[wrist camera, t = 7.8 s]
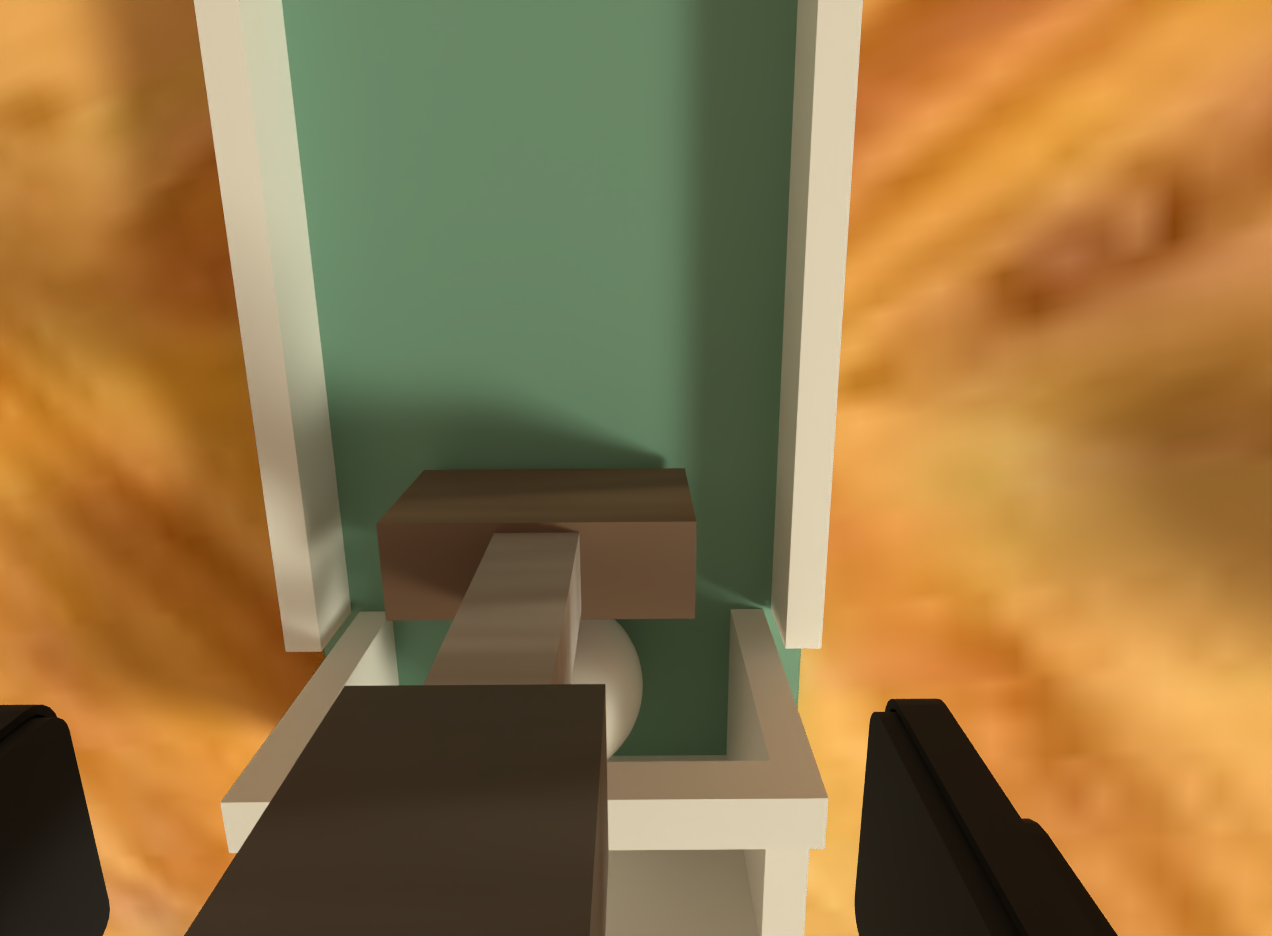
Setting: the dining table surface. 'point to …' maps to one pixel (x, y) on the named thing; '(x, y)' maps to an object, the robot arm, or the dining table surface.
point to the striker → (472, 720)
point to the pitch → (557, 359)
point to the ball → (610, 674)
